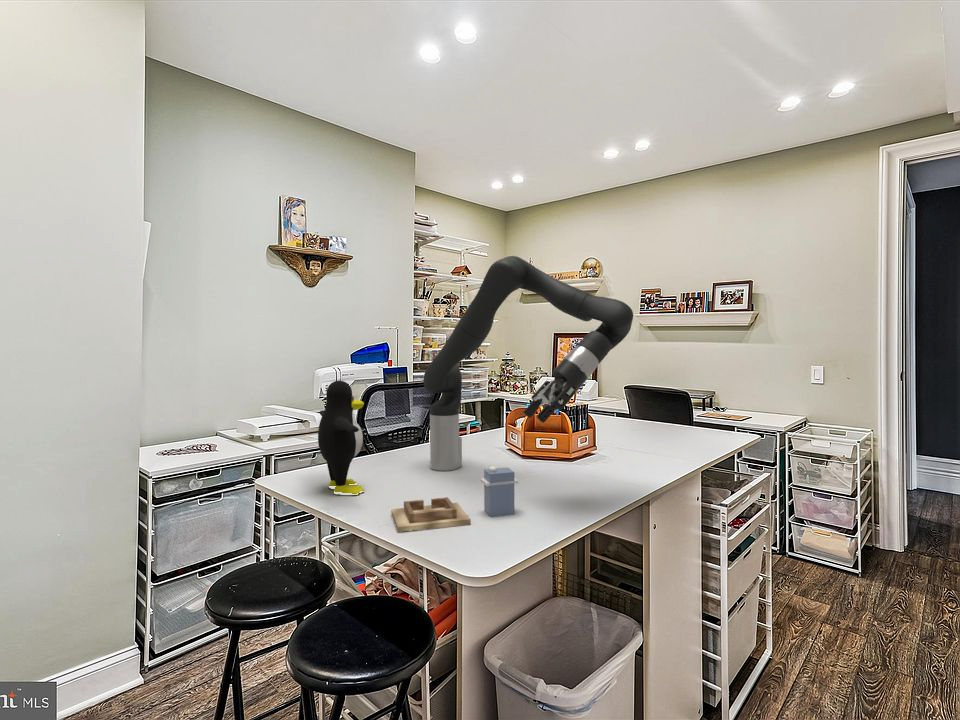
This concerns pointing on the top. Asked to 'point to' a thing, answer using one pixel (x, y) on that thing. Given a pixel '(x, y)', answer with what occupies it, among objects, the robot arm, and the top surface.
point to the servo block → (498, 491)
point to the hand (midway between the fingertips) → (532, 417)
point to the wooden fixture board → (429, 515)
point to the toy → (340, 435)
